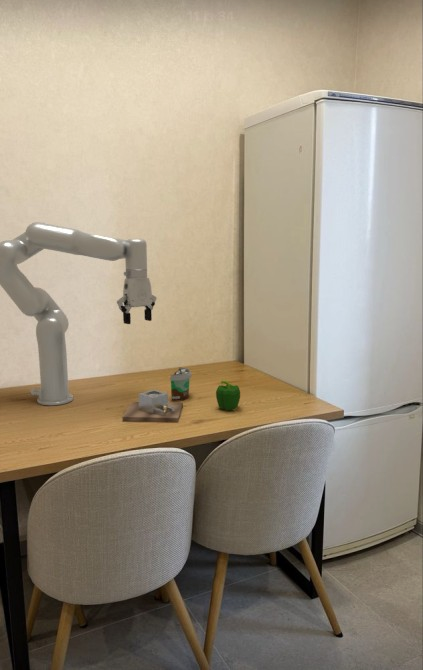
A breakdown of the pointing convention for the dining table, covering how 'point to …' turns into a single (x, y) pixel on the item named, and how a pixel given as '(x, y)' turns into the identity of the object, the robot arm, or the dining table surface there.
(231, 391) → the bell pepper
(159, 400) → the bracket
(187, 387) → the food container
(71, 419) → the dining table surface
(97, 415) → the dining table surface
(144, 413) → the post board
